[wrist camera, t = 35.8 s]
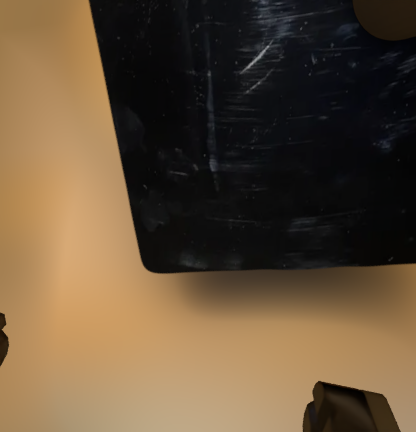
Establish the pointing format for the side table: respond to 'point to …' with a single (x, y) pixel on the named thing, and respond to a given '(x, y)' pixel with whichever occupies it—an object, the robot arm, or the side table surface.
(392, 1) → the bottle
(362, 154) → the side table surface
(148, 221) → the side table surface
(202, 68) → the side table surface
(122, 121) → the side table surface
